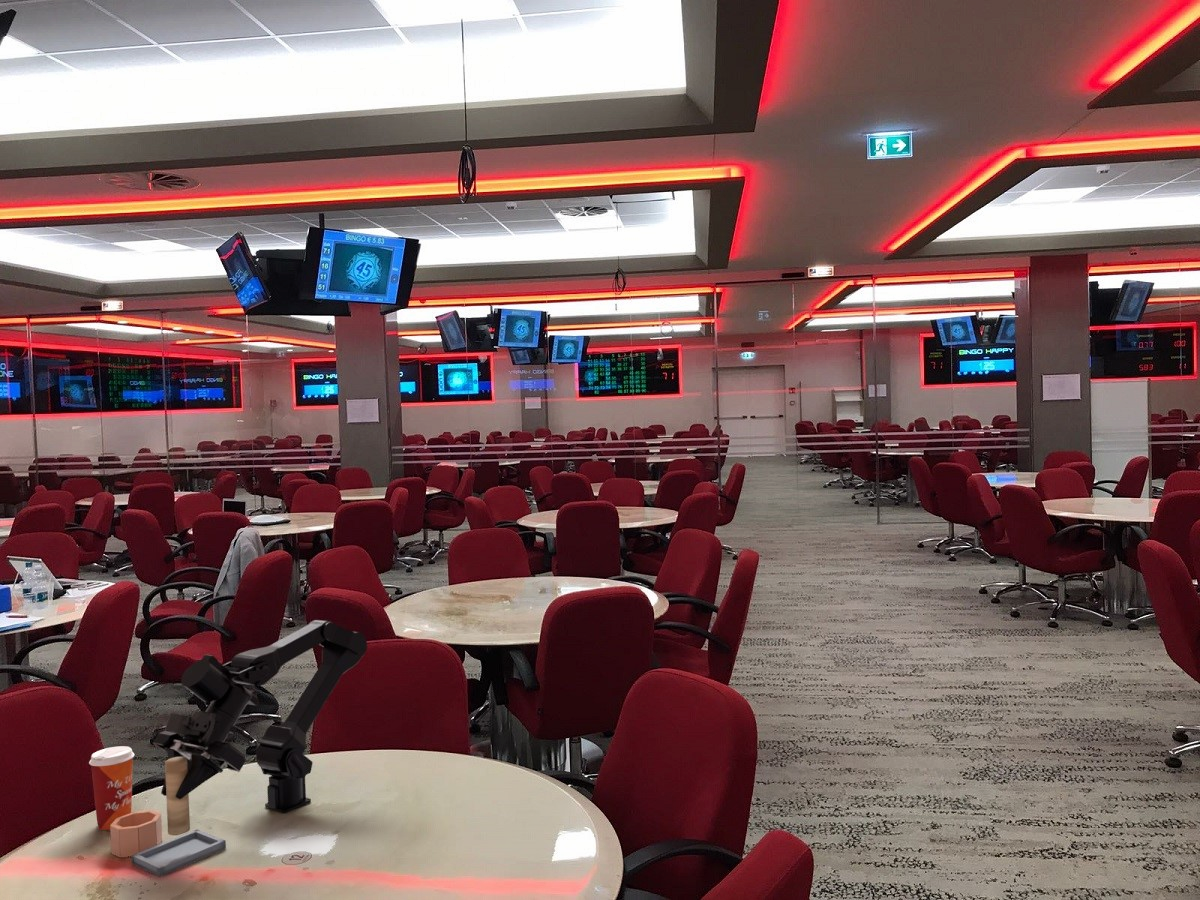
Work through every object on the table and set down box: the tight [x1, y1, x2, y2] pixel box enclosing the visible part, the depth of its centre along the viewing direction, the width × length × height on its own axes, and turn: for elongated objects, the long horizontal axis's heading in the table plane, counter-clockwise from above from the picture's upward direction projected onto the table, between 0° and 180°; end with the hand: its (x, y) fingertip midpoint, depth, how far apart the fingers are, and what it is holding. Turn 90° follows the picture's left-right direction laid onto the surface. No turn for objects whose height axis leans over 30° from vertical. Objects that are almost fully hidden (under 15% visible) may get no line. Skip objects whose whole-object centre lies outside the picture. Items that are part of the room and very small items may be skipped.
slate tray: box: [131, 829, 227, 878], centre depth 154 cm, size 12×9×2 cm
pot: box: [109, 809, 163, 858], centre depth 158 cm, size 8×8×5 cm
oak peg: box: [164, 757, 191, 836], centre depth 154 cm, size 4×4×12 cm
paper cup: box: [88, 745, 135, 831], centre depth 169 cm, size 8×8×14 cm
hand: (170, 796), depth 153 cm, fingers closed on oak peg, 3 cm apart
